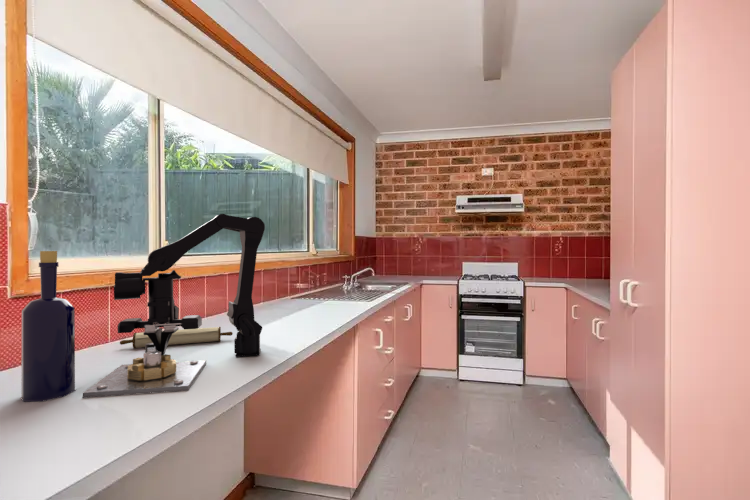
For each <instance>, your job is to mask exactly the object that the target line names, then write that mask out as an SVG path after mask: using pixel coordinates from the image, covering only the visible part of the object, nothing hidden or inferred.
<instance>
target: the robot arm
mask: <svg viewBox="0 0 750 500" xmlns="http://www.w3.org/2000/svg"><path fill="white" fill-rule="evenodd" d="M265 225H266V224H265V222H264V221H263V219H261V218H260V217H258V216H252V217H241V216H234V215H229V214H226V213H220V214H217V215H215V216H214V217H213V218H212V219H210V220H209V221H207V222H205V223H204V224H202V225H200V226H198V227H197V228H196V229H194V230H192V231H191V232H189V233H187V234H186V235H184V236H183V237H182V238H180V239H178V240H176V241H173V242H171V243H169V244H165V245H163V246H161V247H159V248H157V249H154V250H152V251H151V252H150V253H149V255H148V257H147V263H146V264H145V266H144V267H142V268H141V271H140V272H138V271H137V272H122V271H121V272H120V271H119V272H116V271H115V273H114V286H113V298H114V299H113V300H114V301H121V300H130V299H131V300H134V299H136V300H137V299H141V296H143V295H146V281H147V284H148V287H147V288H148V291H147V292H148V297H147V298H148V301H147V307H148V318H147V320H143V319H142V317H133V318H132V317H131V318H129V317H128V318H125V319H122V320H120V321H119V322H118V325H117V334H125V333H130V334H131V332H132V333H133V332H134V330H136V329H144V335H148V337H149V338H150V340H151V341H152V342H153V344H154V346H155V348H156V350H157V351H160V352H161V356H162V355H165V354H166V352H167V351H166V350H167V347H168V346H169V345H168V342H169V340H170V338H171V336H172V334H173V333H175V332H176V331H177V330H180V329H179V327H181V328H182V329H197V328H201V326H202V325H203V322H202V321H203V318H202V316H201V315H199V314H196V315H192V314H191V315H185V316H183V317H182V318H179V314H180V313H179V312H180V311H179V310H180V308H179V307H178V306H177V305H176V304H175V299H174V280H180V279H182V276H181V275H179V274H178V273H177V272H176V270H175V269H172V270H171V271H170V272H165V271H168V270H169V269H171V268H172V267H173V265H175V264H176V263H177V262H178V261H180V259H181V258H182V257H183V256H185V255H186V254H187V253H188V252H189V251H190V250H192V249H194V248H195V247H196V246H198V245H200V244H201V243H203V242H204V241H206V240H208V239H209V238H211V237H212V236H214V235H215V234H217V233H219V232H220V231H222V230H223V229H224V230H227V231H228V230H229V231H232V232H237V233H239V239H240V244H241V252H240V253H241V255H240V262H239V272H238V277H237V278H238V280H237V287H236V295H235V298H234V300H233V301H228V310H227V313H226V316H227V317H228V320H229V321H228V322H230V323H231V325H232V326H234V327H235V329H236V331H237V333H236V336H235V338H234V345H233V346H234V354H235V357H238V358H239V357H240V358H241V357H257V356H260V355H261V350H262V349H261V333H262V330H263V326H262V325H261V324H260V323H259V322H257V321H256V320H255V310H254V302H253V299H252V298H253V289H254V288H253V287H254V281H255V273H256V265H257V262H256V261H257V255H258V254H257V253H258V248H259V246H260V245H261V242H262V240H263V236H264V233H265V230H266V226H265ZM157 272H161V273H157ZM155 273H157V276H155V277H150V276H152V275H154V274H155Z"/></svg>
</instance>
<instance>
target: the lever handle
mask: <svg viewBox="0 0 750 500" xmlns="http://www.w3.org/2000/svg"><path fill="white" fill-rule="evenodd" d="M151 351H157V350H156V348H155V346H154V344H153V343H147V344H145V347H144V353H146V352H151ZM176 362H177V361H176V359H175V358H172V359H171V354H166V353H165V354H164V355H162V356H161V367H157V368H150V369H144V357H136V358H133V359H132V363H130V364H131V365H129V366H128V378H129V379H132V380H150V379H157V378H161V377H166V376H168V375H171V374H173V373H175V372H176Z"/></svg>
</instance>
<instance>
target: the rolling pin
mask: <svg viewBox="0 0 750 500" xmlns="http://www.w3.org/2000/svg"><path fill="white" fill-rule="evenodd" d="M144 332H145V331H144ZM144 332H133V334H132V339H124V340H123V339H122V340H121V341H119V345H121V346H122V345H127V344H130V343H131V344H132V349H133V350H135V349H141V348H143V349H144V348H145V344H147V343H153V342H152V341H151V340H150V338H149V337H148V335H144ZM233 334H234V333H233V332H232V331H226V332H221V326H215V327H199V328H197V329H183V328H182V329H178V330H177V331H176V332H175V333H173V334H172V336H171V338H170V340H169V342H168V345H167V346H173V345H175V346H176V345H184V344H185V345H186V344H197V343H198V344H199V343H210V342H221V341H222V340H221V339H222V338H221V336H233Z"/></svg>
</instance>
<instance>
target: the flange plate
mask: <svg viewBox="0 0 750 500" xmlns="http://www.w3.org/2000/svg"><path fill="white" fill-rule="evenodd" d="M143 358H144V369H150V368H157V367H161V352H160V351H151V352H146V353H145V352H144V353H143ZM131 364H132V363H130V364H129V363H128V364H121V365H119V366H118V367H116V368H115V369H114V370H113V371H111V372H109V373H108V374H107V375H105V376H104V377H103V378H101V379H100V380H99V381H97V382H96V383H95V384H93V385H92V386H90V387H89V388H87V389H86V390H85V391H83V392H82V398H83V399H84V397H87V398H98V397H97V396H101V397H112V396H111V395H115V396H125V395H124V394H130V395H137V394H136V393H144V394H153V393H152V392H158V393H167V392H166V391H172V392H184V391H185V392H186V391H189V390H190V388H191V387H192V385H194V383H195V381H196V380H197V378H198V377H199V375H200V374H201V373H202V371H203V369H204V368H205V366H206V365H207V360H206V359H202V360H201V359H200V360H185V361H176V372H175V373H173V374H171V375H168V376H166V377H161V378H157V379H150V380H132V379H129V378H128V366H129V365H131ZM164 391H165V392H164ZM150 392H151V393H150Z"/></svg>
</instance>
